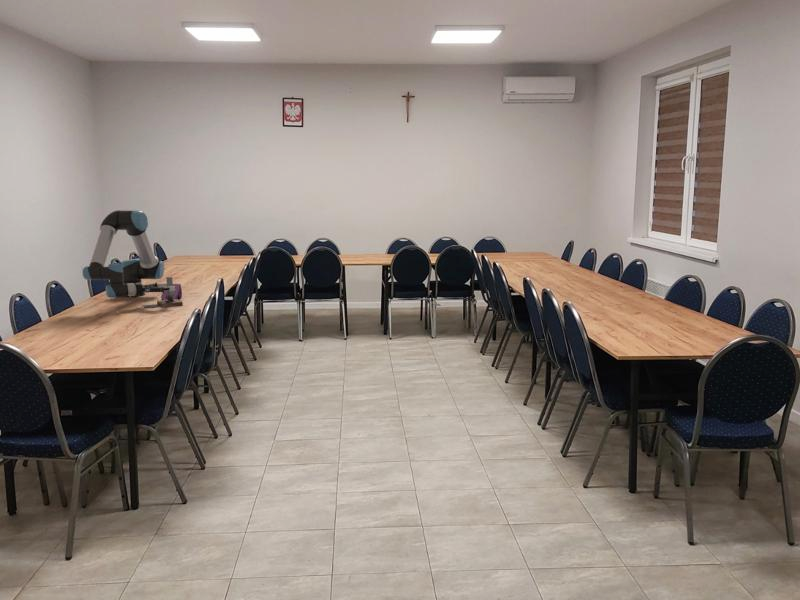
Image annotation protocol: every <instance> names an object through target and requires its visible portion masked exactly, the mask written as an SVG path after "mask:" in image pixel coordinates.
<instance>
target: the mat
mask: <svg viewBox="0 0 800 600" xmlns="http://www.w3.org/2000/svg"><path fill="white" fill-rule="evenodd" d="M141 306H142V307H143V308H145V309H151V308H160V306H159V305H158V304H156V303H155V304H154V303H153V304H144V305H141Z"/></svg>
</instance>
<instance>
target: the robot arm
mask: <svg viewBox="0 0 800 600" xmlns="http://www.w3.org/2000/svg"><path fill="white" fill-rule="evenodd" d="M148 226H149V221H148V217H147V215H146V213H145V212H144V211H142V210H135V209H134V210H119V209H118V210H113V211H112V212H110V213H109V214H108V215H106V217H104V219H103V220H102V222H101V224H100V227H99V230H100V231H99V235H98V238H97V241H96V245H95V248H94V251H93V254H92V257H91V260H90V264H89V266H88V265H87V266H84V267H83V268H82V277H83V279H85V280H89V281H109V284H107V285H105V295H106V297H107V298H109V299H110V298H124V297H126V298H127V296H129V297H128V298H131V296H132V297H142V296H144V295H146V293H161V294H162V293H164V291H175V286H167V282H165V283H163V282H162V283H158V282H155V283H150V284H143V283H142V280H161V279H162V278H163V276H164V274H165V262H164V261H162V260H159V258H158V257H157V256H156V255H155V254H154V251H153V248H152V246H151V243H150V240H149V239H148V235H147V233H146V231H147V229H148ZM118 231H126V233H127V235H128V236H129V237H131V238H132V241H133V244H134V247H135V249H136V251H137V254H138V256H139V257H138V258H132V259H126V260H125V259H124V260H123V261H122V262H121V263H119V262H114V263H109V264H108V265H107V266H105V264H106V261H107V257H108V255H109V251H110V248H111V245H112V241H113V240H114V236H116V234H118V233H117V232H118Z"/></svg>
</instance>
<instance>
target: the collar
mask: <svg viewBox="0 0 800 600" xmlns="http://www.w3.org/2000/svg"><path fill="white" fill-rule="evenodd" d="M173 300H174V302H168V300H161V299H160V300H157V301H156V303H157V304H156V305H157V306H159V307H161V308H168V307H169V308H171V307H181V306H184V305H183V304H184V302H183V301H182V300H181V299H173Z"/></svg>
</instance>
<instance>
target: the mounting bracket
mask: <svg viewBox="0 0 800 600" xmlns="http://www.w3.org/2000/svg"><path fill="white" fill-rule="evenodd" d="M173 286H175V291H173V299H178V300H182V297H183V291H182V284H181V283H173ZM160 298H161V299H160V300H167V291H164V293H162V292H161V296H160Z"/></svg>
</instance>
